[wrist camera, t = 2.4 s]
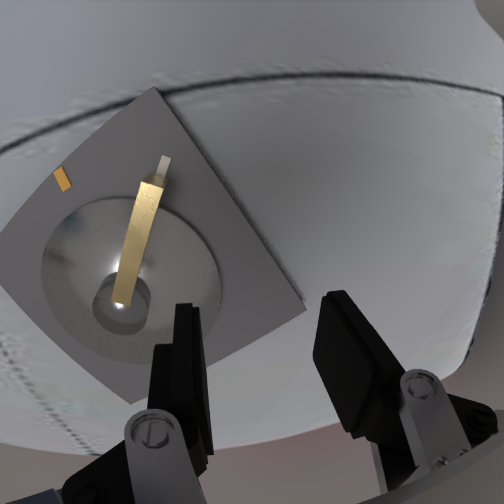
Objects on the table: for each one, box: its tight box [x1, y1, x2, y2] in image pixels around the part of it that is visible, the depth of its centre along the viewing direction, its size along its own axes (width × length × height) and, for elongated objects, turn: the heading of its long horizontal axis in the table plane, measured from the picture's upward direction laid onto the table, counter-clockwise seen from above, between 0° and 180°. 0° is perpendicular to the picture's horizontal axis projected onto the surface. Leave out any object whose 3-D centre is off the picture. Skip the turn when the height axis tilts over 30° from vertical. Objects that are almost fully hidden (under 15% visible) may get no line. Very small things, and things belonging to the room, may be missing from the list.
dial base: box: [0, 86, 307, 404], centre depth 28 cm, size 26×26×2 cm
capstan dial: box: [41, 173, 221, 365], centre depth 25 cm, size 20×18×4 cm
